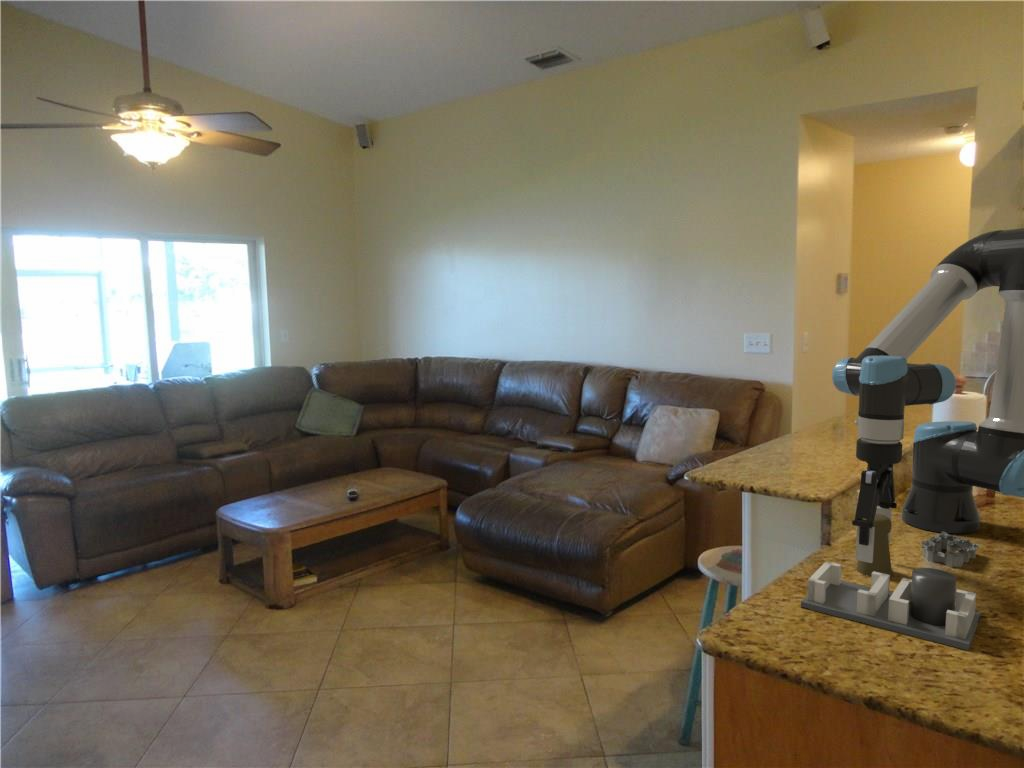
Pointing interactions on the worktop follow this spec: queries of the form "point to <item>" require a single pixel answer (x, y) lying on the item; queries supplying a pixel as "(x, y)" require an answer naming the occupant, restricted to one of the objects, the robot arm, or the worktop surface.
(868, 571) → the cork
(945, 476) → the robot arm
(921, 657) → the worktop surface
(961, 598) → the socket board
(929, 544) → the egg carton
